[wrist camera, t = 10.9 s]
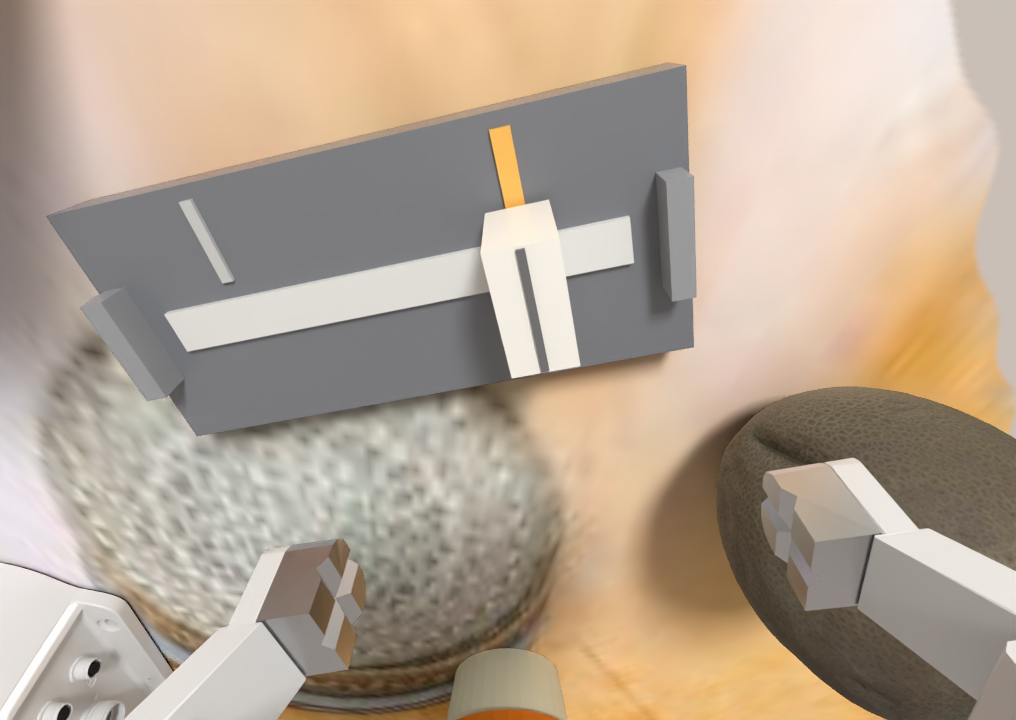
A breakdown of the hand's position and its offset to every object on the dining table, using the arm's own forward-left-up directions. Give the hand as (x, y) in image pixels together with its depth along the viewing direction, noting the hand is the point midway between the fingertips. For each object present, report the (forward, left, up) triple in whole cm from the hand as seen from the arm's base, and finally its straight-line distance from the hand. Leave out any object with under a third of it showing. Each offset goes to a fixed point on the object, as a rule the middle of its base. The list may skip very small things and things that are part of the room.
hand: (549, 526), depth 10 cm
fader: (0, 0, -14) cm, 14 cm away
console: (0, +6, -17) cm, 18 cm away
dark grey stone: (-15, -14, -17) cm, 27 cm away
